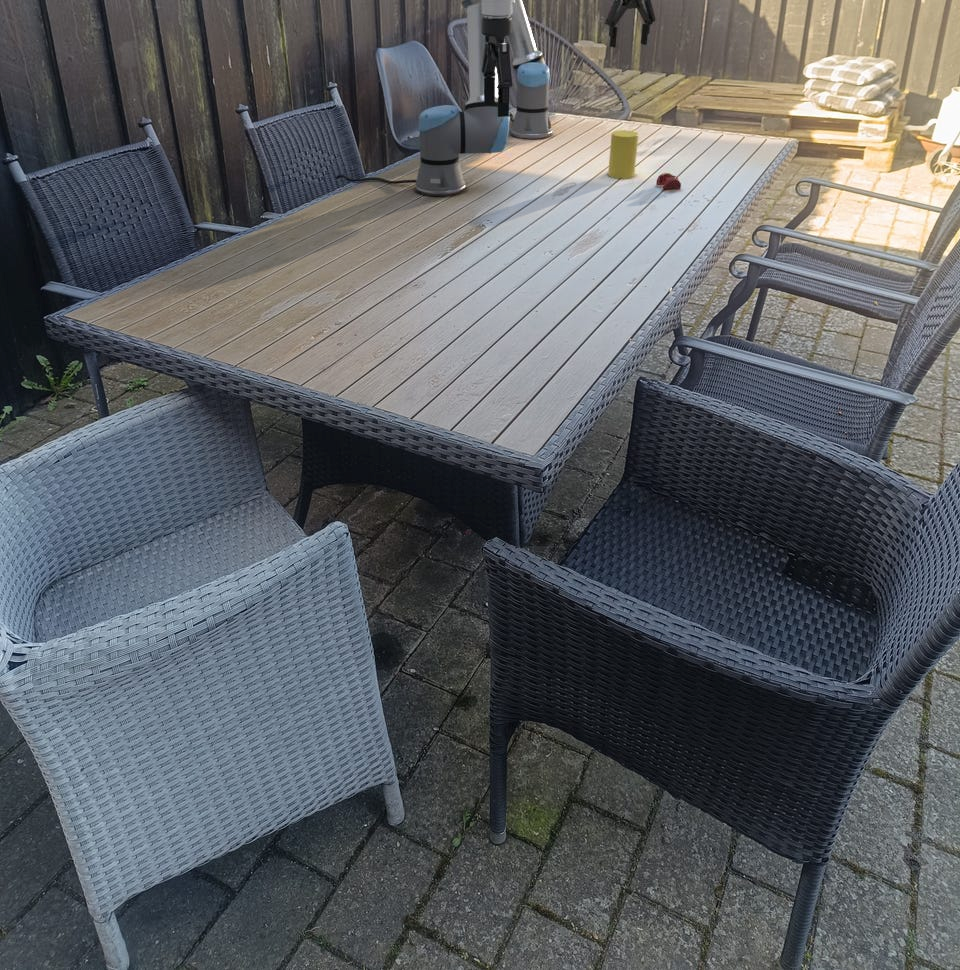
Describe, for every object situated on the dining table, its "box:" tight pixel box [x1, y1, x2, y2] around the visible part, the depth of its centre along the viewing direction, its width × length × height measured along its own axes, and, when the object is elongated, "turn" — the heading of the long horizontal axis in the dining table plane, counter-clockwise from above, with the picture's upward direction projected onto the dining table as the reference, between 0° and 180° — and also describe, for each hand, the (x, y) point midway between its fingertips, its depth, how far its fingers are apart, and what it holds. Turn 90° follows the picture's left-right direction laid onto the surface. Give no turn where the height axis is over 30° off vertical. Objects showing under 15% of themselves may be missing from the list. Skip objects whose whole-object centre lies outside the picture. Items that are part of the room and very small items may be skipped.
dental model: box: [655, 172, 682, 192], centre depth 259 cm, size 6×4×8 cm
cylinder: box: [607, 130, 639, 180], centre depth 268 cm, size 8×8×13 cm
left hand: (496, 110), depth 216 cm, fingers open, 13 cm apart
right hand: (628, 45), depth 308 cm, fingers open, 13 cm apart
